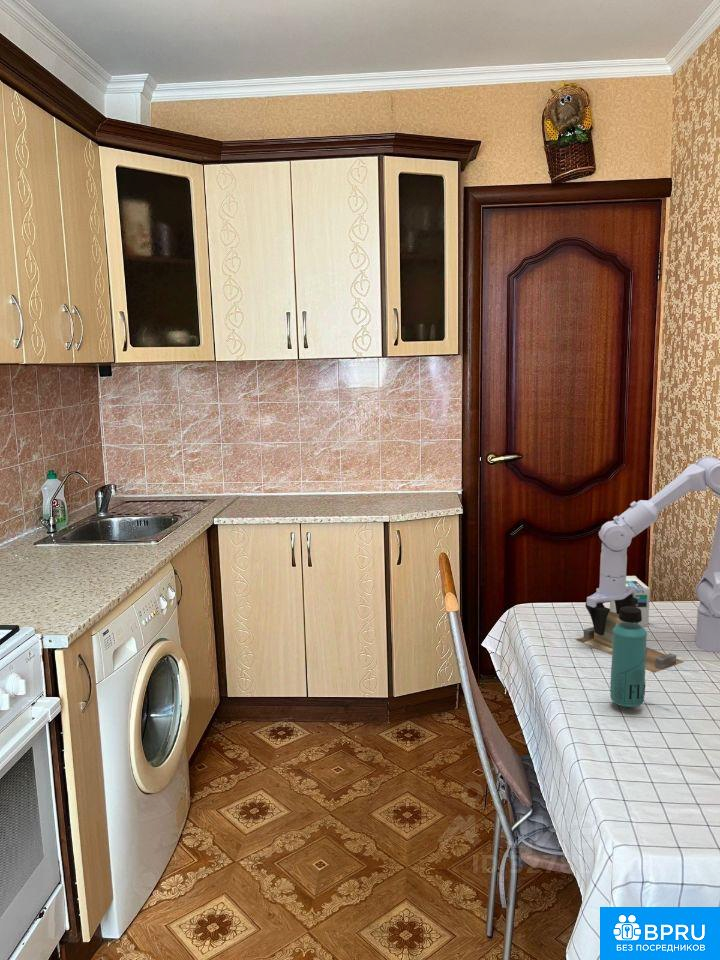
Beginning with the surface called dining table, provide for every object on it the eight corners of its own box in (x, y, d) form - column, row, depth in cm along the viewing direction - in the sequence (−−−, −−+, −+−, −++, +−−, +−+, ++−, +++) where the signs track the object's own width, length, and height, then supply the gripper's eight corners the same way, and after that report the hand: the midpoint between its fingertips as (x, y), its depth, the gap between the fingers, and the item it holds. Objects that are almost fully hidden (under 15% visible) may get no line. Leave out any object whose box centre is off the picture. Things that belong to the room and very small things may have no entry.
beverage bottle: (627, 717, 144) (632, 616, 140) (601, 703, 150) (605, 606, 146) (652, 709, 147) (657, 610, 143) (625, 696, 153) (630, 600, 149)
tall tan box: (602, 637, 181) (603, 608, 180) (626, 646, 175) (628, 617, 174) (593, 639, 179) (594, 611, 178) (617, 649, 174) (619, 620, 172)
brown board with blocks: (604, 633, 185) (604, 622, 185) (684, 665, 167) (684, 653, 166) (575, 642, 180) (575, 631, 179) (654, 676, 161) (654, 663, 161)
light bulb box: (649, 630, 187) (651, 588, 185) (621, 630, 187) (623, 588, 185) (634, 614, 198) (636, 574, 196) (608, 615, 198) (609, 575, 196)
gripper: (620, 564, 181) (617, 619, 184) (577, 575, 174) (575, 631, 176) (645, 571, 176) (642, 627, 178) (601, 582, 168) (599, 641, 171)
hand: (610, 630), depth 177 cm, fingers open, 7 cm apart
